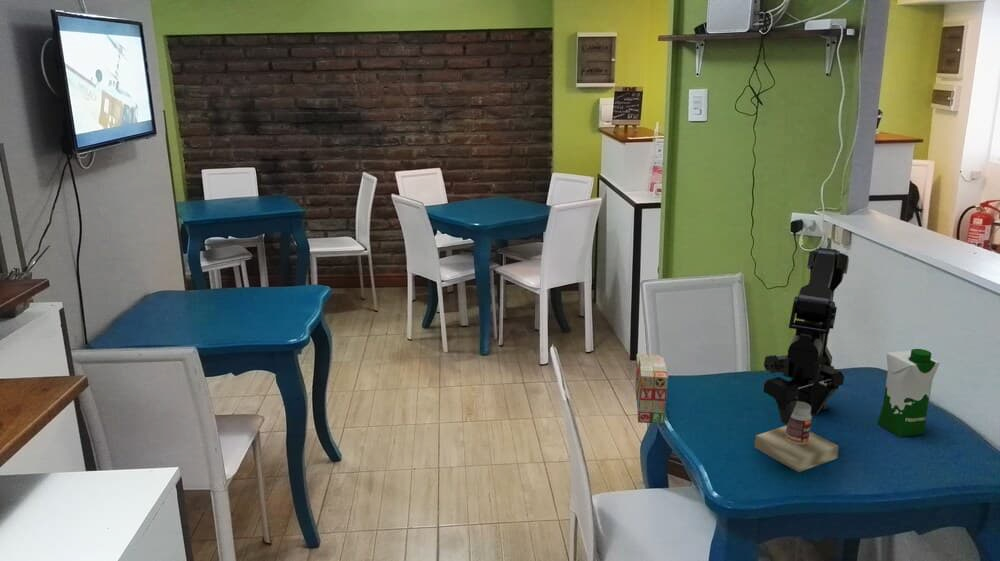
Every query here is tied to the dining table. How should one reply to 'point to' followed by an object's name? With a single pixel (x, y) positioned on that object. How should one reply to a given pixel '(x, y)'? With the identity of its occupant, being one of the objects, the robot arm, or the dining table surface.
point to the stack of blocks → (651, 388)
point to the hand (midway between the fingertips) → (799, 418)
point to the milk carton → (907, 392)
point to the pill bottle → (799, 424)
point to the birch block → (796, 449)
